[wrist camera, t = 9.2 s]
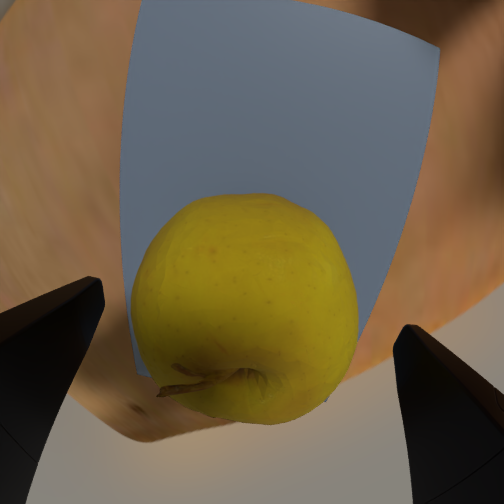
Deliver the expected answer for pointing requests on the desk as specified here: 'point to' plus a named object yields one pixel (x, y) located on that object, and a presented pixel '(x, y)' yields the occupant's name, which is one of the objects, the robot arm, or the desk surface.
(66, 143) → the desk surface
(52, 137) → the desk surface
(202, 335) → the apple
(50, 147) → the desk surface
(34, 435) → the robot arm
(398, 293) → the desk surface
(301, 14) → the book
